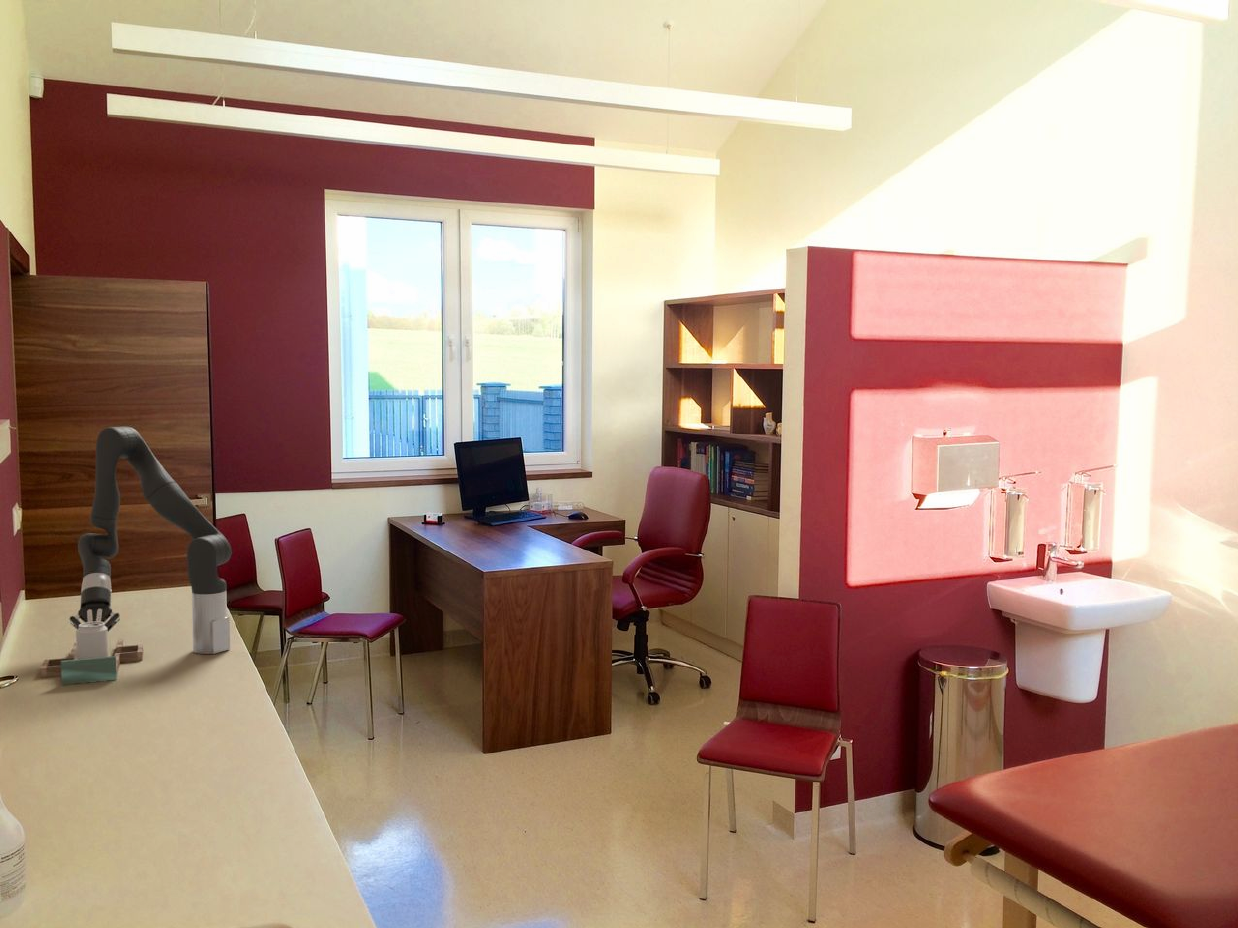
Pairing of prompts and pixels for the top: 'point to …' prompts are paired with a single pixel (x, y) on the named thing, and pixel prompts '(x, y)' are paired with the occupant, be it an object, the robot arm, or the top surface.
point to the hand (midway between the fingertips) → (93, 645)
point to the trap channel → (91, 665)
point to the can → (92, 640)
